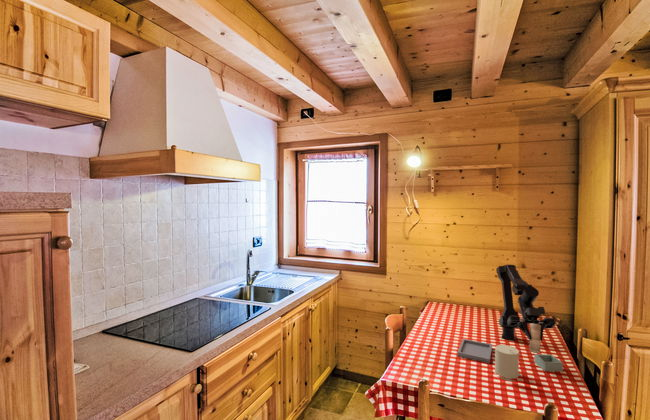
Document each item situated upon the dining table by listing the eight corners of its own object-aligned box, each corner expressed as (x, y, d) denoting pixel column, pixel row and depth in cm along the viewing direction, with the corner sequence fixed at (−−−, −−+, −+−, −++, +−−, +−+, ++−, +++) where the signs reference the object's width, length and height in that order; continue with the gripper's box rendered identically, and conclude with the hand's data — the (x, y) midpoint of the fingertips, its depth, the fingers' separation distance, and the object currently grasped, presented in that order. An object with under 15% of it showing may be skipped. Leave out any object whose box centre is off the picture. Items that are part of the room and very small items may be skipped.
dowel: (530, 348, 152) (530, 322, 151) (540, 350, 149) (541, 324, 149) (528, 351, 148) (529, 325, 148) (539, 354, 146) (539, 327, 145)
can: (506, 382, 138) (506, 354, 137) (489, 371, 146) (490, 345, 146) (524, 379, 140) (524, 351, 140) (506, 368, 149) (507, 342, 149)
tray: (462, 342, 176) (462, 338, 176) (492, 348, 169) (492, 344, 169) (457, 356, 161) (457, 352, 161) (489, 363, 154) (489, 359, 154)
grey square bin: (534, 365, 152) (534, 354, 152) (551, 365, 152) (551, 354, 152) (544, 373, 145) (544, 362, 144) (562, 374, 144) (562, 362, 144)
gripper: (509, 298, 154) (518, 331, 143) (554, 300, 150) (566, 334, 140) (503, 309, 162) (511, 341, 151) (546, 312, 158) (557, 344, 148)
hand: (536, 340), depth 147 cm, fingers closed on dowel, 4 cm apart
